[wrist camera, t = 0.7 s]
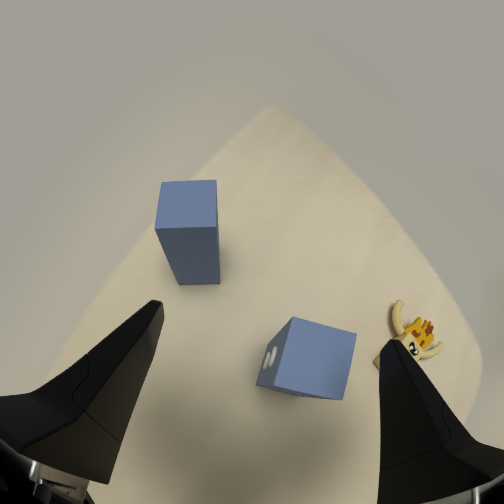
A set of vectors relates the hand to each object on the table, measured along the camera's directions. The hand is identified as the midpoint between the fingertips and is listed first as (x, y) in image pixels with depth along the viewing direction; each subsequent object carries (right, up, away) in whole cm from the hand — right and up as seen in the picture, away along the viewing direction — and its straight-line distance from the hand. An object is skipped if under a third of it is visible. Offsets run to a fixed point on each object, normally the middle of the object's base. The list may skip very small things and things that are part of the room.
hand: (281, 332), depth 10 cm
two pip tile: (+2, -8, +13) cm, 15 cm away
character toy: (+16, -8, +15) cm, 23 cm away
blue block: (-6, +2, +17) cm, 18 cm away
